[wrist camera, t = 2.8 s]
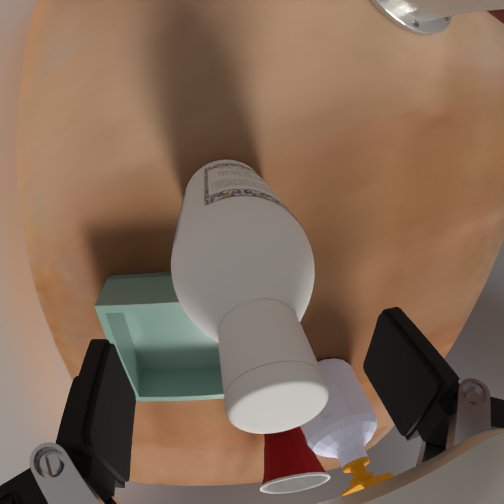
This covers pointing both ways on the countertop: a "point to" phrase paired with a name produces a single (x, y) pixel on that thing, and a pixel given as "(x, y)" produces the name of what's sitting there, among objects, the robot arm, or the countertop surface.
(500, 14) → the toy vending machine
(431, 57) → the countertop surface
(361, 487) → the soap bottle
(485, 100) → the countertop surface
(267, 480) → the plastic cup
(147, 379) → the tub
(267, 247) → the bath foam
